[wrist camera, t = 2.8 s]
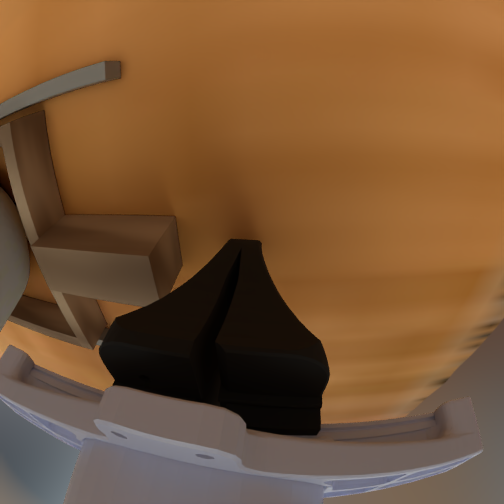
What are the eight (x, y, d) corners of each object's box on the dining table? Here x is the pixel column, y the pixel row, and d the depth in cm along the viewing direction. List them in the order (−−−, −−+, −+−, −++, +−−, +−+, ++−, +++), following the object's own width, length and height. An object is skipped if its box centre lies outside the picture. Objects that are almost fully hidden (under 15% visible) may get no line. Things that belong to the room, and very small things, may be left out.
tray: (196, 339, 18) (185, 380, 15) (-13, 290, 20) (-28, 309, 17) (163, 81, 9) (123, 86, 7) (-60, 161, 11) (-83, 176, 9)
